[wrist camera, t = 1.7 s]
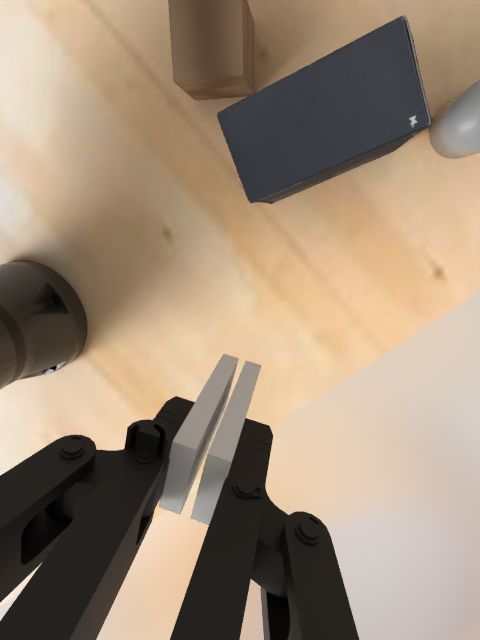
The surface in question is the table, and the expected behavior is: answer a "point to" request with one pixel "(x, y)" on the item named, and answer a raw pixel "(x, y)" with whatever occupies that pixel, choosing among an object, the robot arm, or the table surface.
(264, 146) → the small box
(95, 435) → the table surface
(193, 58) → the walnut cube
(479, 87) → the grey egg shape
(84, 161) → the table surface
